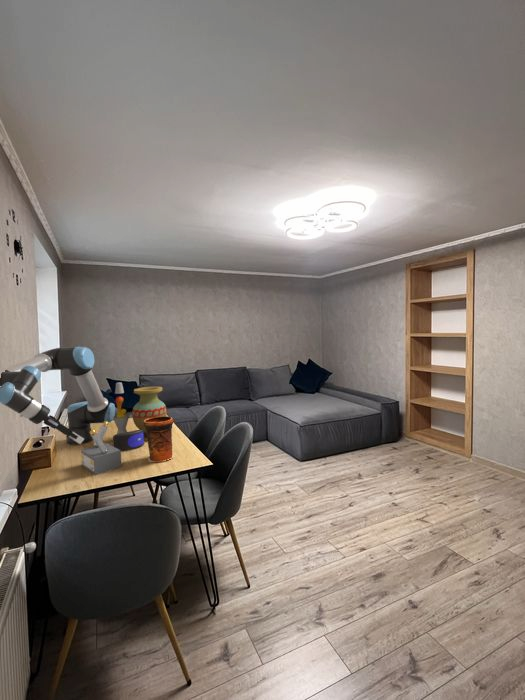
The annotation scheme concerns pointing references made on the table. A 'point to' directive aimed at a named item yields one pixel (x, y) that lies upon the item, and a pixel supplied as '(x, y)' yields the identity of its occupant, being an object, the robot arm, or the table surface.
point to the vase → (147, 407)
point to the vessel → (159, 438)
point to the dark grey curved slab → (129, 440)
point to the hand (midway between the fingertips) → (81, 441)
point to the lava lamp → (120, 411)
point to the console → (101, 459)
